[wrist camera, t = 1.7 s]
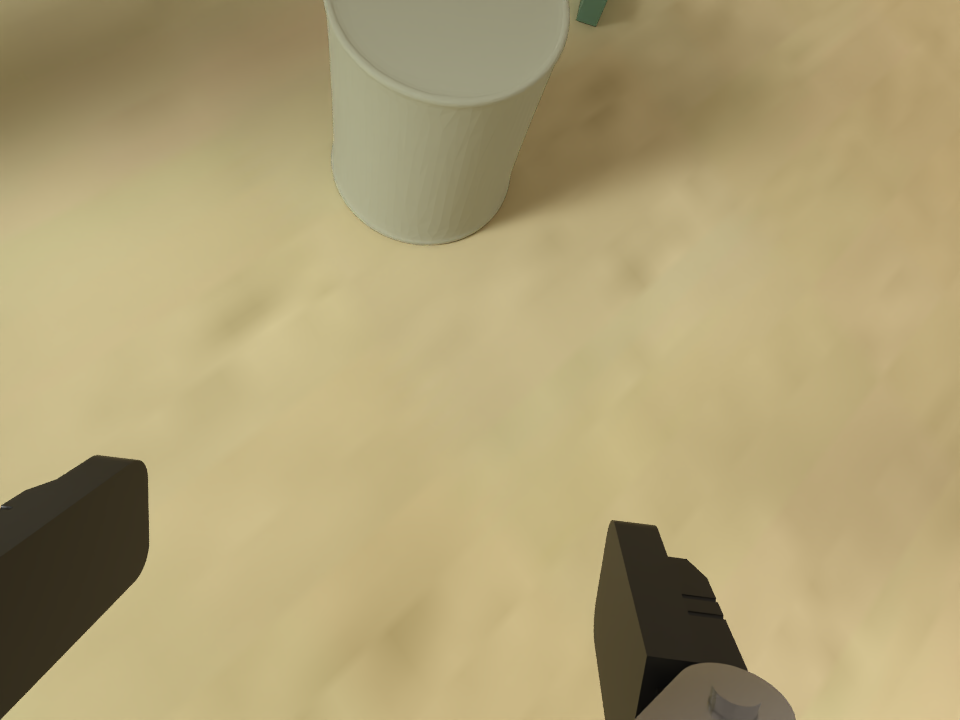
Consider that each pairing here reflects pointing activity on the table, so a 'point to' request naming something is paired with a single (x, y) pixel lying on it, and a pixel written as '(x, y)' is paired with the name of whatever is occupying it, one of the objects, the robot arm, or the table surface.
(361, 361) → the table surface
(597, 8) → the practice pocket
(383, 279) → the table surface
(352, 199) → the can
